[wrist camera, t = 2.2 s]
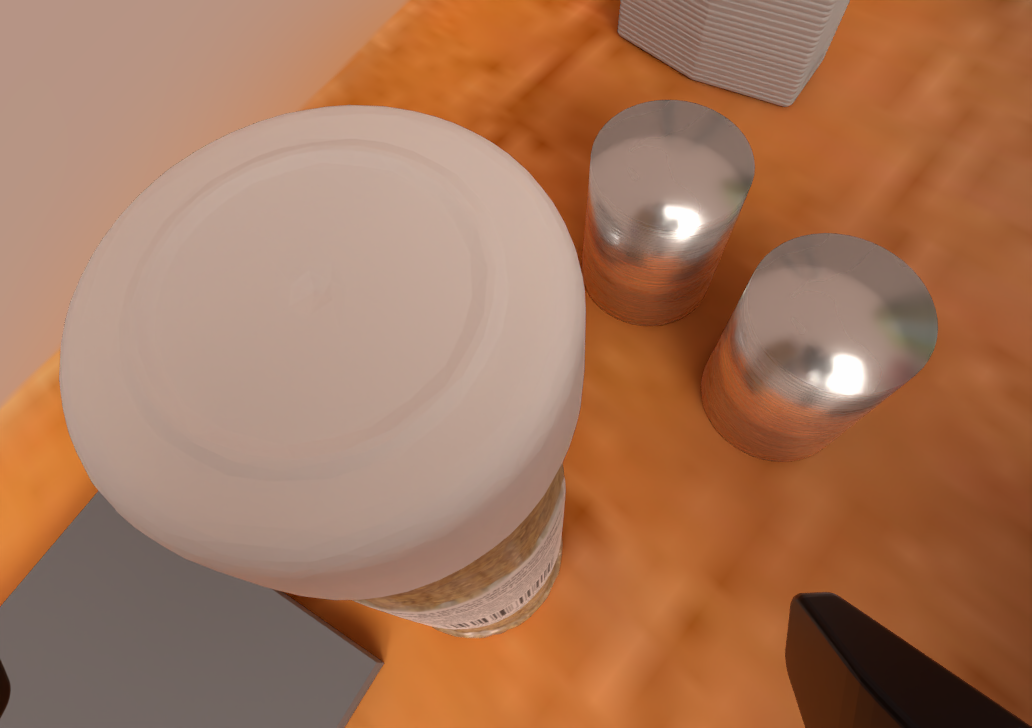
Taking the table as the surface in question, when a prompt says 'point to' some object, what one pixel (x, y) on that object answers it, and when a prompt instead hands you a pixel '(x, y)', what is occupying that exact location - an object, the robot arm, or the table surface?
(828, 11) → the padlock
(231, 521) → the sprinkles bottle
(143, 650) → the mat
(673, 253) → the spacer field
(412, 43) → the table surface
